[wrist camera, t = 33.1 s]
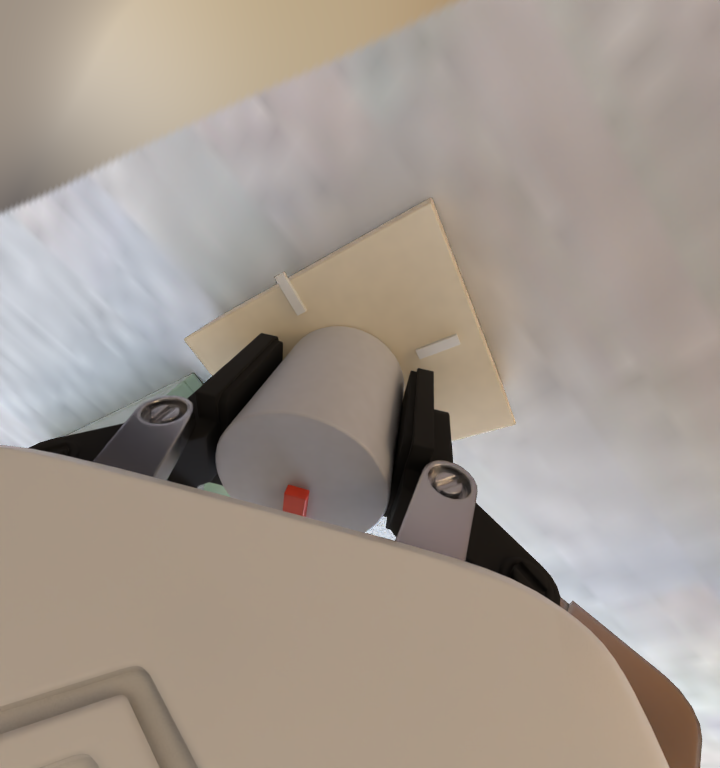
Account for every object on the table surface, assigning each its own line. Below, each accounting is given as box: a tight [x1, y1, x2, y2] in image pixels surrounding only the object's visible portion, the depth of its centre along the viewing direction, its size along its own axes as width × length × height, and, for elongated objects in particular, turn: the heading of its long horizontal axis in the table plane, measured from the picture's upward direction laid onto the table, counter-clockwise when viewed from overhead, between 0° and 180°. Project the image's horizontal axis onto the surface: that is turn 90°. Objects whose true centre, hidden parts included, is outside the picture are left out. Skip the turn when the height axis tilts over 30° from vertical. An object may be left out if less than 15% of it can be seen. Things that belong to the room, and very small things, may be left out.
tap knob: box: [215, 326, 404, 533], centre depth 10 cm, size 4×4×5 cm
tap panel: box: [184, 198, 516, 441], centre depth 13 cm, size 10×9×3 cm
